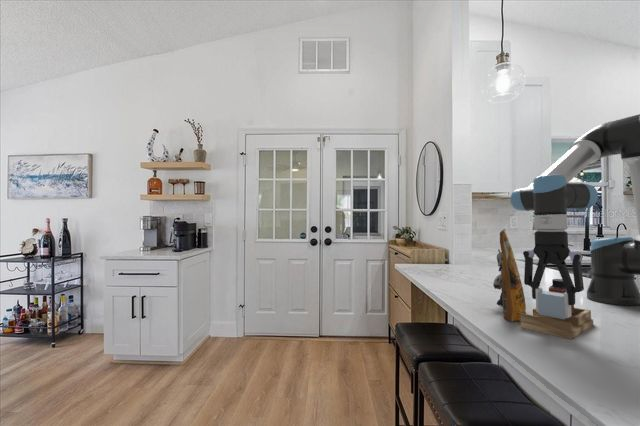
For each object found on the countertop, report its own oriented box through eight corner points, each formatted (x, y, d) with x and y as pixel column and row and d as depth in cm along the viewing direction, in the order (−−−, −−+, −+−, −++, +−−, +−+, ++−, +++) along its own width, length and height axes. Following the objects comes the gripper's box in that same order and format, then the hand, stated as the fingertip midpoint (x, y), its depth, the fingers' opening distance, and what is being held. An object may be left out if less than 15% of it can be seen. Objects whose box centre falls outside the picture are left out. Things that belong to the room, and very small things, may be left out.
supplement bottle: (566, 322, 91) (565, 282, 91) (544, 316, 96) (543, 279, 96) (579, 319, 93) (577, 280, 93) (557, 314, 99) (555, 277, 99)
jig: (545, 315, 103) (545, 302, 103) (593, 324, 93) (592, 310, 93) (520, 327, 92) (520, 313, 92) (571, 339, 82) (571, 323, 82)
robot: (506, 310, 108) (504, 251, 109) (490, 308, 112) (488, 250, 112) (519, 299, 123) (517, 247, 123) (504, 297, 126) (503, 246, 126)
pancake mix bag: (494, 320, 98) (491, 229, 99) (505, 306, 113) (502, 227, 114) (520, 325, 94) (517, 230, 95) (528, 309, 109) (525, 227, 109)
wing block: (543, 311, 92) (543, 290, 92) (569, 316, 87) (568, 294, 87) (538, 314, 90) (537, 292, 90) (563, 319, 85) (562, 296, 85)
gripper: (508, 230, 95) (510, 308, 94) (589, 231, 79) (592, 325, 79) (519, 229, 99) (521, 304, 99) (598, 230, 84) (601, 319, 83)
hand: (553, 313), depth 89 cm, fingers closed on wing block, 6 cm apart
